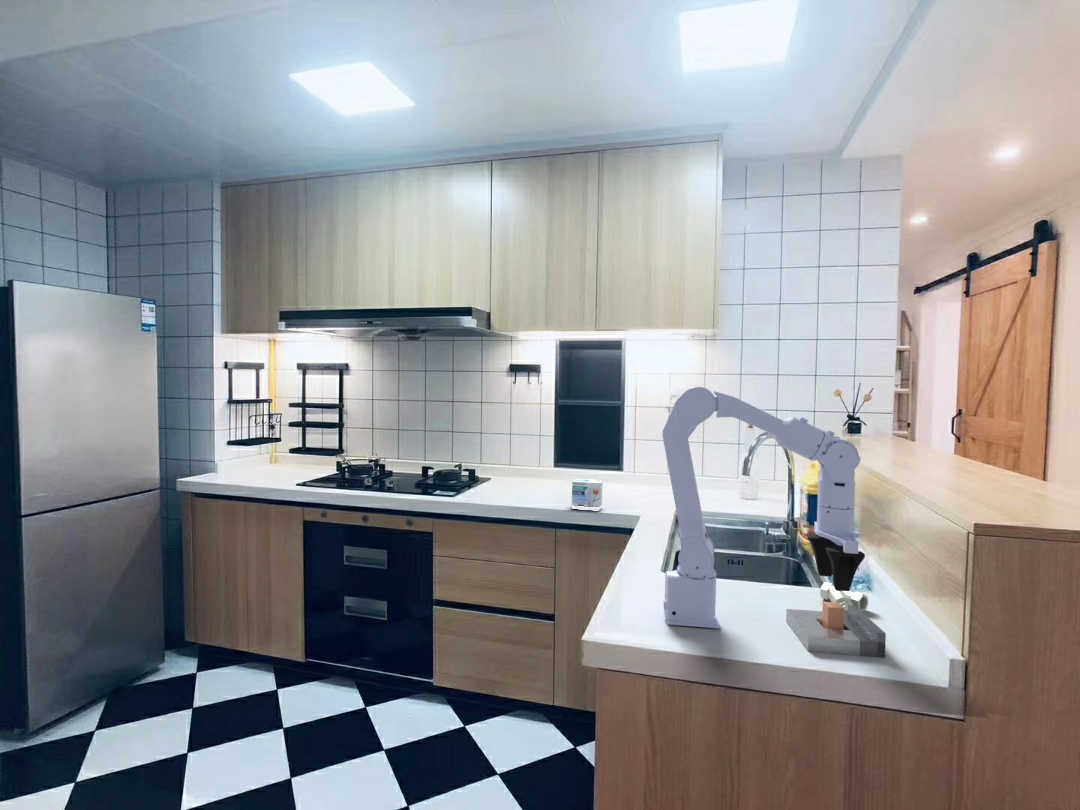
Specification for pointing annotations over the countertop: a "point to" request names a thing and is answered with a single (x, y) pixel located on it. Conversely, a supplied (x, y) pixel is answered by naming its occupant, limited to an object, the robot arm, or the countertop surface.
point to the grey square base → (838, 633)
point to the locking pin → (832, 616)
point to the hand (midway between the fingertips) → (833, 582)
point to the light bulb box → (587, 493)
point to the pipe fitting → (844, 597)
